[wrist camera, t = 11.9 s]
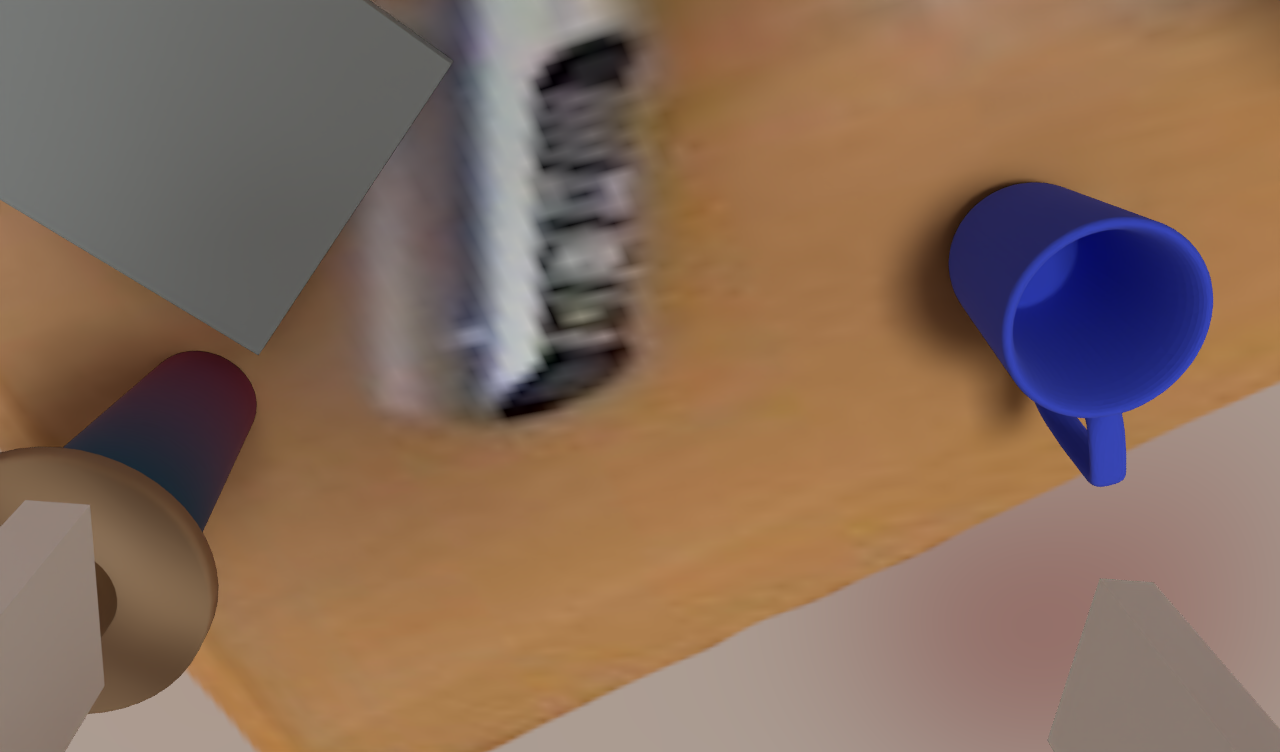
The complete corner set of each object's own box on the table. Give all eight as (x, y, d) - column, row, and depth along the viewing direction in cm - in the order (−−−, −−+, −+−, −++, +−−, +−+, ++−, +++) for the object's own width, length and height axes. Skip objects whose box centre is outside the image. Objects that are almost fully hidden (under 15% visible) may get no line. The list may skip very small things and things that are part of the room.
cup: (215, 306, 51) (81, 455, 37) (305, 422, 53) (211, 602, 39) (96, 377, 52) (-77, 548, 38) (190, 487, 54) (59, 685, 40)
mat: (101, -194, 43) (91, -196, 42) (453, 61, 47) (451, 64, 46) (-73, 143, 47) (-85, 148, 46) (264, 347, 51) (258, 355, 51)
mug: (947, 419, 55) (1023, 522, 46) (915, 185, 50) (992, 248, 41) (1111, 381, 55) (1220, 476, 45) (1094, 142, 50) (1212, 195, 41)
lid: (-5, 391, 36) (-184, 541, 27) (271, 544, 39) (187, 724, 30) (-131, 606, 39) (-328, 802, 30) (135, 734, 41) (22, 947, 33)
